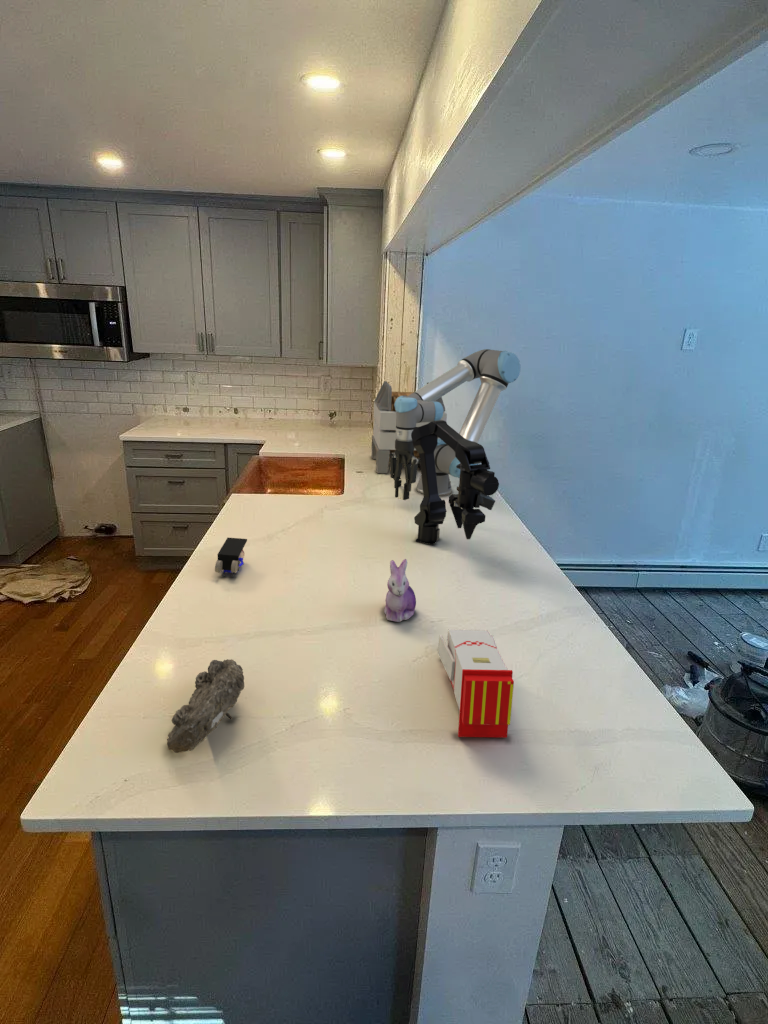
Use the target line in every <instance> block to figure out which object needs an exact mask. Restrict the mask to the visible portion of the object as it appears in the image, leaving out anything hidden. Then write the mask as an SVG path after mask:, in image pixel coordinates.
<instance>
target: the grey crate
mask: <svg viewBox="0 0 768 1024" xmlns="http://www.w3.org/2000/svg"><path fill="white" fill-rule="evenodd" d="M428 383H429V382H426V385H427V384H428ZM414 392H415V391H393V388H392V385H391V384H390V383H388V381H387V380H386V381H385V380H384V381H383V383H382V385H381V386H380V389H379V391H378V393H377V394H376V397H375V398H374V400H373V428H372V429H373V430H372V435H371V453H370V454H371V459H372V460H375V471H376V474H388V471H389V465H390V464H389V463H390V456H389V454H390V453H394V452H395V450H396V449H395V440H396V438H395V435H396V410H395V406H394V405H395V401H396V399H397V398H398V397H400V396H409V395H410V394H412V393H414ZM434 402H439V403H441V405H442V406H443V417H442V418H441V419H440V420H444V421H446V422H447V419H448V414H447V413H446V407H445V403H444V400H443V396H442V397H440V398H439V399H437V400H436V401H434ZM428 423H430V422H422V423H416V427H420V426H423V425H426V424H428ZM438 439H440V438H438ZM413 453H414V457H415V458H419V453H418V452H417V450H416V449H415V448H414V451H413ZM396 458H397V457H396ZM419 459H420V458H419Z"/></svg>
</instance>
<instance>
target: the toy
mask: <svg viewBox="0 0 768 1024" xmlns="http://www.w3.org/2000/svg"><path fill="white" fill-rule="evenodd" d="M446 640H447V643H446V641H445V639H444V636H443V635H442V634H439V637H438V646H437V656H438V657H439V659H440V661H441V663H442V666H443V668H444V670H445V672H446V674H447V677H448V679H449V681H450V684H451V687H452V690H453V693H454V697H455V701H456V705H457V708H458V711H459V714H458V715H459V716H458V730H457V731H458V732H457V737H458V738H508V731H509V726H510V725H511V717H512V707H513V697H514V696H513V695H514V684H515V680H514V679H513V673H514V671H513V670H512V669H508V667H507V665H506V662H505V661H504V659H503V658H502V655H501V653H500V651H499V649H498V647H497V643H496V639H495V637H494V635H493V634H491V632H490V631H489V629H467V628H466V629H465V628H463V629H461V628H460V629H459V628H448V630H447V639H446Z"/></svg>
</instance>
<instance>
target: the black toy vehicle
mask: <svg viewBox="0 0 768 1024" xmlns="http://www.w3.org/2000/svg"><path fill="white" fill-rule="evenodd" d="M247 542H248V538H240V537H226V539H225V541H224V543H223V544H222V546H221V547H220V549H219V551H218V552H217V560H216V562H215V564H214V572H215V573H221V577H222V578H224V577H225V576H226V574H227V573H230V574H231V573H232V574H231V578H234V577H235V575H236V573H237V572H239V571H240V567H242V566H243V565H244V564H245V562H244V558H245V551H244V547H245V546H246V544H247Z"/></svg>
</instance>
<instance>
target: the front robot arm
mask: <svg viewBox="0 0 768 1024" xmlns="http://www.w3.org/2000/svg"><path fill="white" fill-rule="evenodd" d="M411 438H412V441H413V446H414V448H415V449H416V450H417V452H418V453H419V460H420V461H419V465H420V467H421V469H420V477H421V476H422V485H423V494H422V495H423V497H422V500H421V502H420V504H419V512H418V513H417V514H416V515H415V516H413V517H414V524H416V525H417V526H418V527H417V538H416V539H415V542H417V543H421V544H425V545H430V546H435V544H436V543H437V542H438V541H439V540H440V532H441V528H439V526H440V525H443V524H444V521H445V518H446V516H447V512H448V511H447V508H446V506H447V505H446V501H445V499H442V497H441V496H439V495H438V486H437V477H436V468H435V458H434V451H435V448H436V446H437V444H438V438H440V439H441V440H442V441H444V442H445V443H446V444H447V445H448V446H449V447H450V448H452V449H453V450H454V451H455V457H456V458H457V459H458V460H459V462H460V464H458V465H457V466H456V468H458V469H460V478H459V481H458V486H456V491H457V493H451V494H449V495H448V504H449V508H450V510H451V513H452V516H453V518H454V522H455V524H456V527H457V529H462V528H463V531H464V535H465V539H466V540H471V538H472V536H473V534H474V531H475V529H476V528H477V526H478V525H479V524H483V523H485V522H486V514H485V513H484V512H483V511H482V510H481V509H480V507H482V508H485V509H487V510H488V511H492V509H493V507H494V505H495V503H496V500H495V499H494V498H493V497H492V496H493V495H494V494H496V492H497V491H498V489H499V487H500V483H499V479H498V478H497V476H495V471H493V470H491V466H490V461H489V459H488V457H487V453H486V450H485V448H484V446H483V445H482V444H480V443H479V442H478V443H476V442H473V441H469V440H467V439H465V438H464V437H462V436H461V435H460V434H459V432H458V431H456V430H455V429H454V428H453V427H451V426H450V425H449V424H448V422H447V420H446V421H444V420H437V421H432V422H430V423H428V424H426V425H423V426H420V427H415V428H414V430H413V431H412V433H411ZM470 464H478V465H470Z"/></svg>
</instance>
